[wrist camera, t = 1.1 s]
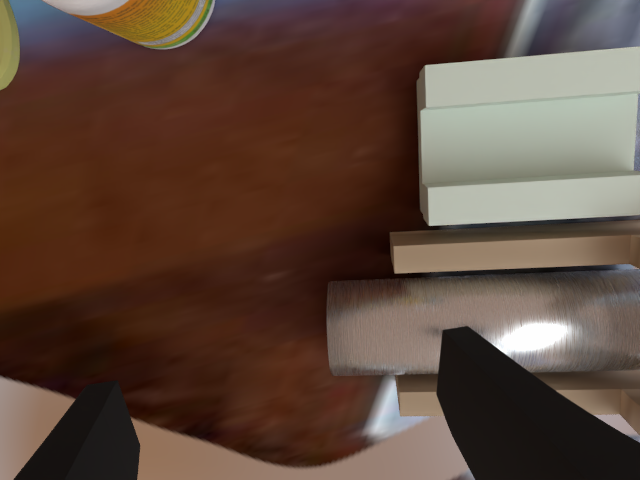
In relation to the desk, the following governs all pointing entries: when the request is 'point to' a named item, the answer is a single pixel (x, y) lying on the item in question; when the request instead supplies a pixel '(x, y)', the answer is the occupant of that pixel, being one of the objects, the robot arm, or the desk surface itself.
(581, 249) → the wooden bracket frame
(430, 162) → the cradle
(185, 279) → the desk surface
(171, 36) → the supplement bottle
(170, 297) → the desk surface
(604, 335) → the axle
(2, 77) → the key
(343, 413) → the desk surface
